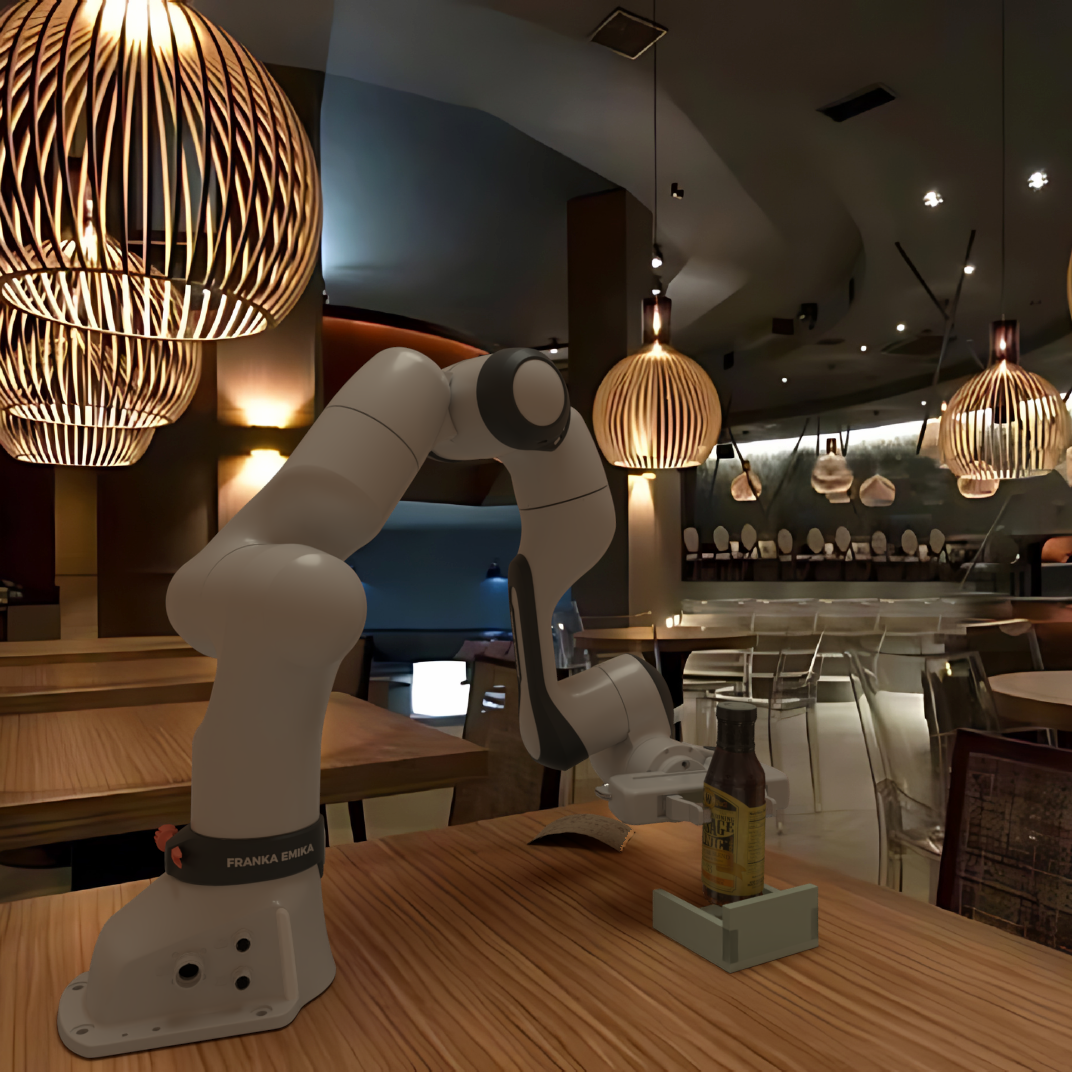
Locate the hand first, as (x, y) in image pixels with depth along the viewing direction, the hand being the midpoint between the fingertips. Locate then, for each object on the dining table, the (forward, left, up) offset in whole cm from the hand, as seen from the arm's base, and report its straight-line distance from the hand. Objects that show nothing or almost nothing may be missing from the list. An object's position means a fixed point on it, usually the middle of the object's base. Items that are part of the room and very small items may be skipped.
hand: (738, 813), depth 87 cm
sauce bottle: (0, +1, -9) cm, 9 cm away
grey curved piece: (+4, +35, -13) cm, 37 cm away
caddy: (0, +1, -12) cm, 13 cm away
